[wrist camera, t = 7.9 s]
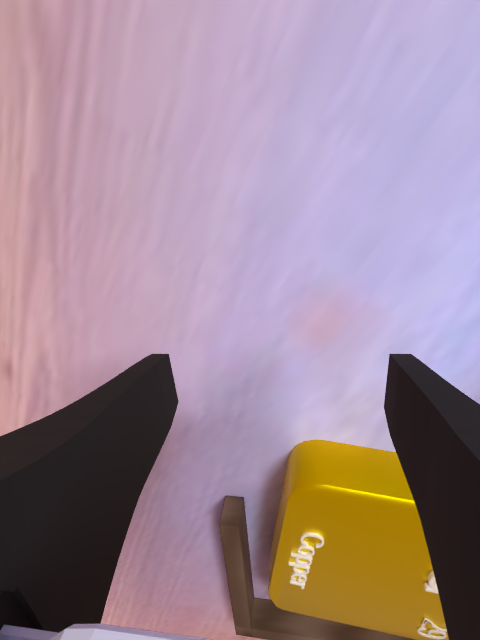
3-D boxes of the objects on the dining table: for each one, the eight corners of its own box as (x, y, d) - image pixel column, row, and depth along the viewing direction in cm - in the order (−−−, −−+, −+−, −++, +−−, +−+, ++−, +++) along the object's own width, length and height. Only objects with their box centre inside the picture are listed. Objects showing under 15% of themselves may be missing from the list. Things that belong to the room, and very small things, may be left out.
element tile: (292, 430, 26) (291, 487, 21) (515, 468, 24) (561, 537, 20) (269, 553, 32) (264, 615, 28) (441, 589, 31) (463, 660, 26)
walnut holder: (512, 520, 25) (532, 556, 23) (467, 635, 32) (479, 672, 30) (225, 495, 29) (219, 524, 27) (240, 604, 36) (236, 634, 34)
